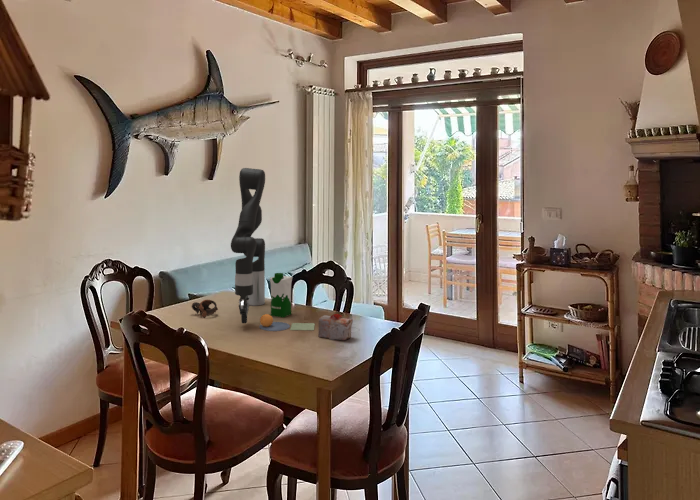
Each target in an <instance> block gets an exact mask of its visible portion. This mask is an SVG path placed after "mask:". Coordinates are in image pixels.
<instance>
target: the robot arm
mask: <svg viewBox="0 0 700 500" xmlns="http://www.w3.org/2000/svg"><path fill="white" fill-rule="evenodd" d="M238 180H239V182H238V183H239V189H240V197H241V198H240V199H241V210H240V212H239V213H240V214H239V216H238V217H239V218H238V223H237V228H236V230H235V233H234V234H233V237H232V239H231V241H230V249H231V251H232V253H235V254H243V255H244V257H243V258H237V259H236V260H235V264H234V265H235V275H234V276H235V277H234V293H235V295H236V296H240V297H239V299H238V303H239V304H238V311H239V314H240V315H241V317H240V318H241V320H240V321H241V324H247V323H248V312H249V308H250V306H254V307H256V306H262V305H265V303H266V302H265V301H266V296H265V294H266V293H265V292H266V290H265V289H266V287H265V286H266V284H265V283H266V279H265V276H266V275H265V274H266V272H265V270H266V269H265V267H266V266H265V265H266V264H265V258H266V257H265V256H266V243H265V242H266V241H265V239H264V238H259V237H258V238H256V237H254V236H252V235H253V234H254V233H255V232H256V230H257V229H258V228H259V227H260V225H262V221H263V220H262V219H263V218H262V217H263V210H262V207H261V206H260V203H261V200H262V196H263V193H264V188H265V185H266V184H265V183H266V172H265V171H264V169H259V168H249V167H243V168H241V169H240V171H239V177H238ZM250 190H251V191H253V190H254V193H253V195H252V194H251V193H252V192H250ZM256 257H258V258H257V259H256V260H254V258H256Z"/></svg>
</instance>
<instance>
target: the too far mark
mask: <svg viewBox="0 0 700 500" xmlns="http://www.w3.org/2000/svg"><path fill="white" fill-rule="evenodd" d="M315 325H316V324H315V323H314V322H291V325H290V328H289V330H290V331H315Z"/></svg>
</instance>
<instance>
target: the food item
mask: <svg viewBox="0 0 700 500" xmlns="http://www.w3.org/2000/svg"><path fill="white" fill-rule="evenodd" d="M352 326H353V319H352V318H346V317H345V318H344V317H343V316H342V315H341V314H339V313H334V314H332V315H322V316H320V317H319V318H318V328H317V329H318V333H317V334H318V338H324V339H329V340H332V341H333V340H337V341H346V340H348V339H350V338H352Z"/></svg>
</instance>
